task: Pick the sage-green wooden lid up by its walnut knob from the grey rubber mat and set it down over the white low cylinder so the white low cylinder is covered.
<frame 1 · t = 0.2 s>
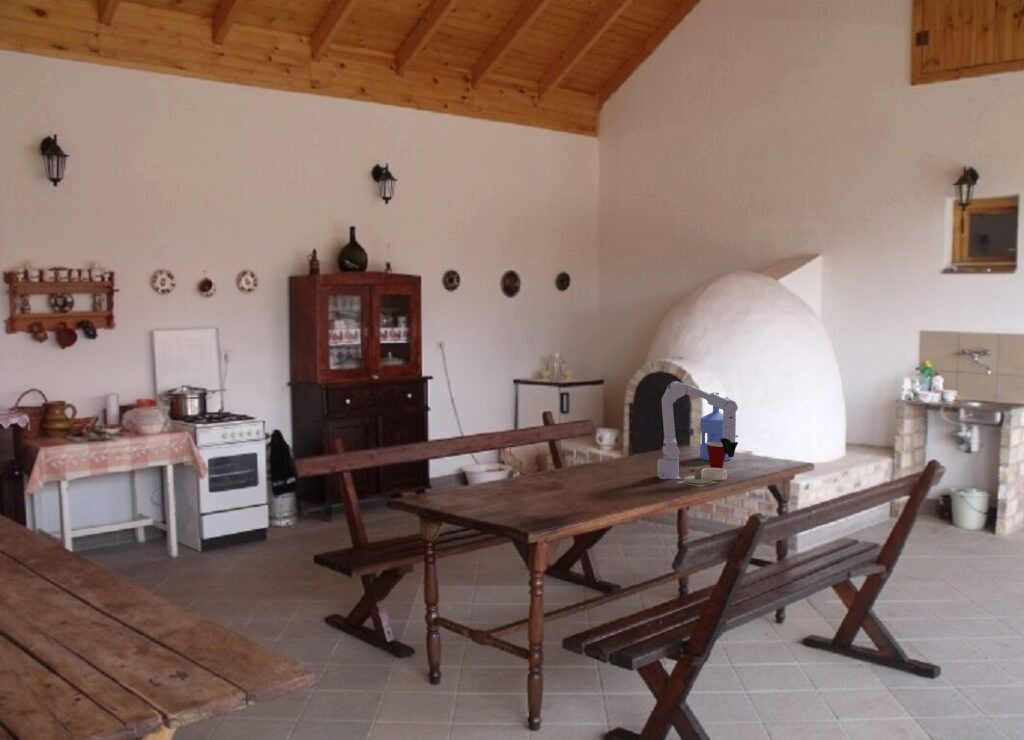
hand: (728, 455, 422), 10 cm above the table, tool pointing down, fingers open, 7 cm apart
water jug: (715, 459, 469), on the table
lid: (697, 482, 410), resting on mat
white low cylinder: (714, 478, 419), on the table
plastic cup: (717, 468, 446), on the table
mat: (697, 483, 410), on the table
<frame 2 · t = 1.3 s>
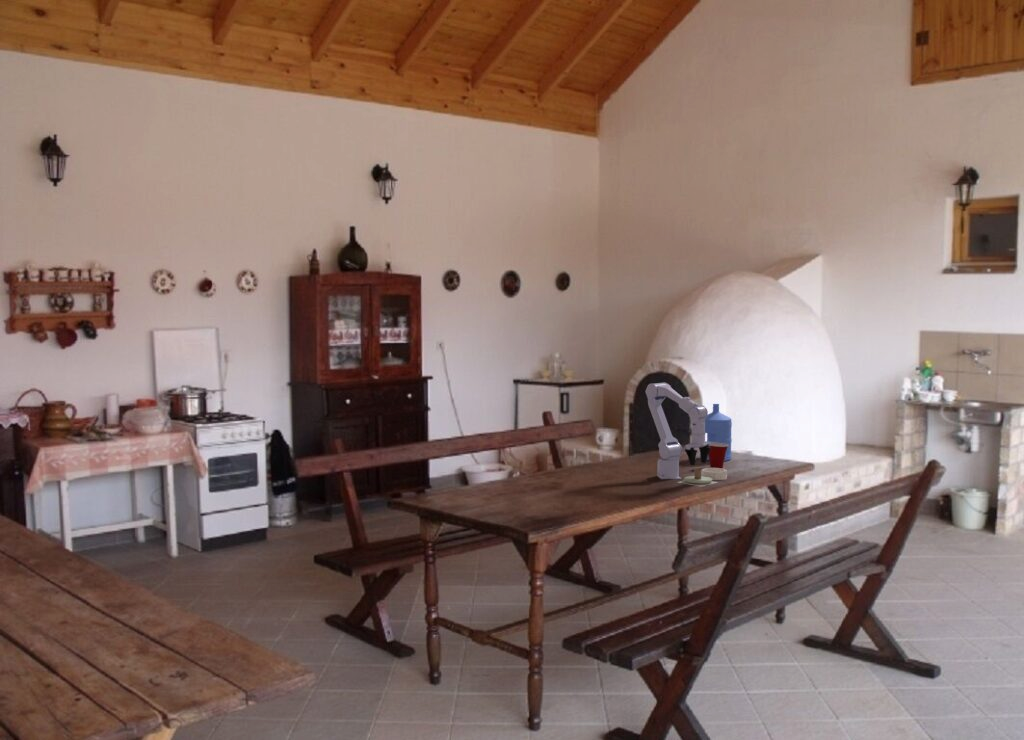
hand: (698, 463, 409), 9 cm above the table, tool pointing down, fingers open, 7 cm apart
nothing on the table moved.
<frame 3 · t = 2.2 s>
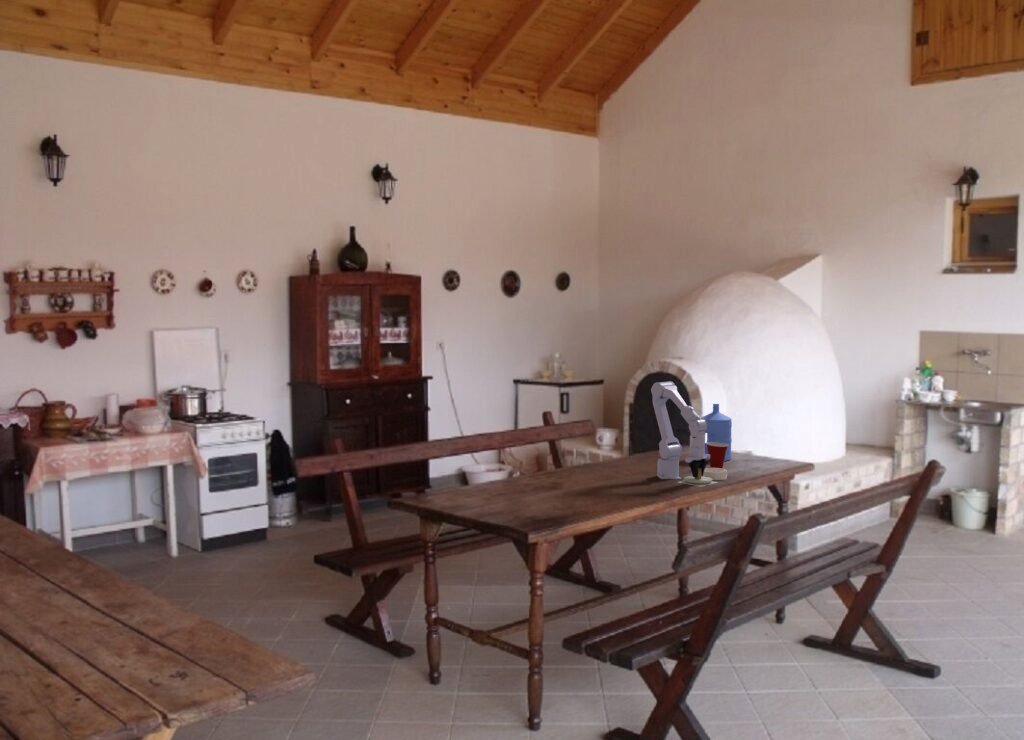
hand: (697, 476, 410), 3 cm above the table, tool pointing down, fingers closed on lid, 3 cm apart
lid: (697, 482, 410), point 1 cm above the table, touching gripper, mat
everything else where it was.
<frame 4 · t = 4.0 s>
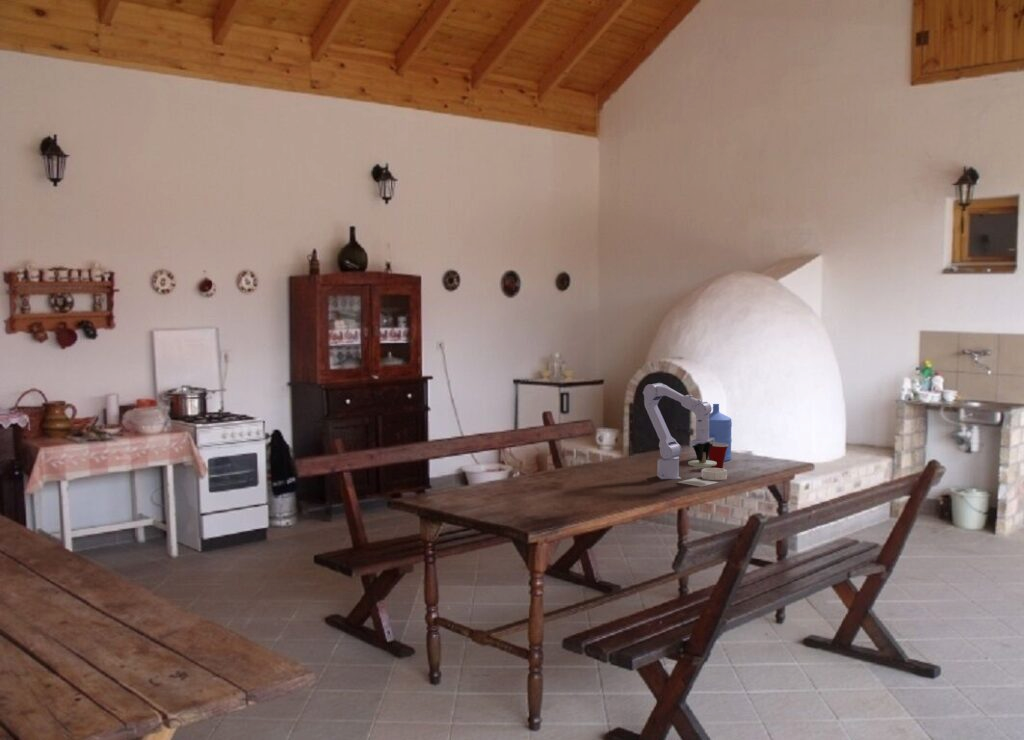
hand: (702, 459, 411), 10 cm above the table, tool pointing down, fingers closed on lid, 3 cm apart
lid: (702, 465, 412), point 7 cm above the table, touching gripper
everything else where it was.
when the fingers open (7 cm above the table, at t = 5.6 s): lid stays where it is, resting on white low cylinder.
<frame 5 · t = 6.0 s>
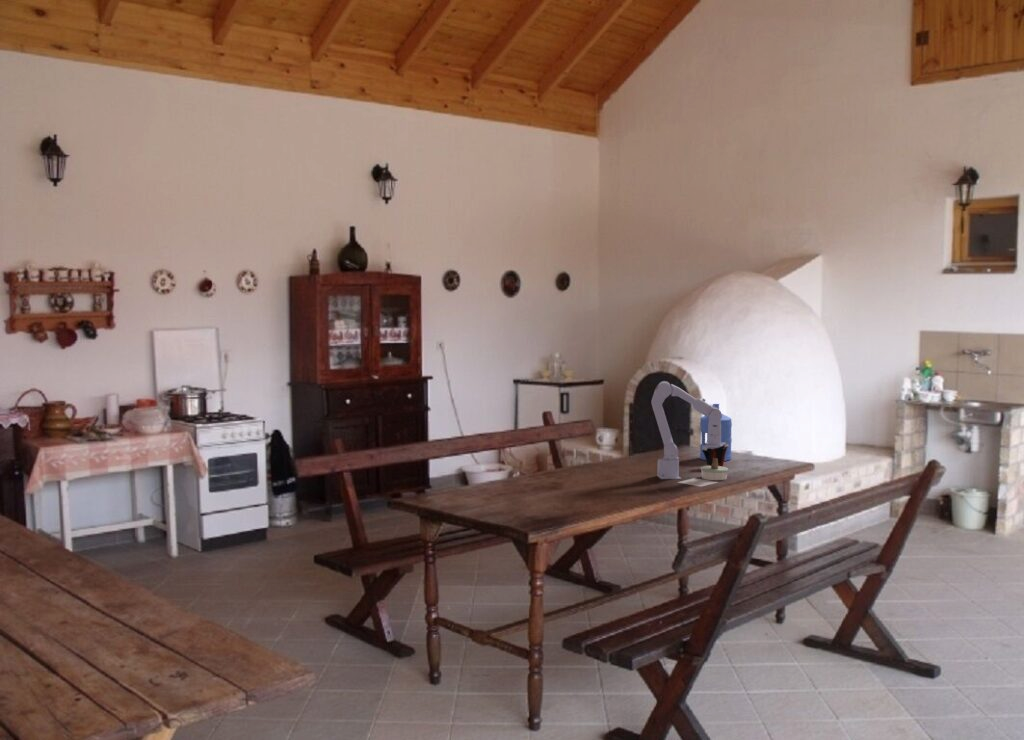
hand: (714, 464, 419), 7 cm above the table, tool pointing down, fingers open, 6 cm apart
lid: (714, 471, 419), point 3 cm above the table, touching white low cylinder
everything else where it was.
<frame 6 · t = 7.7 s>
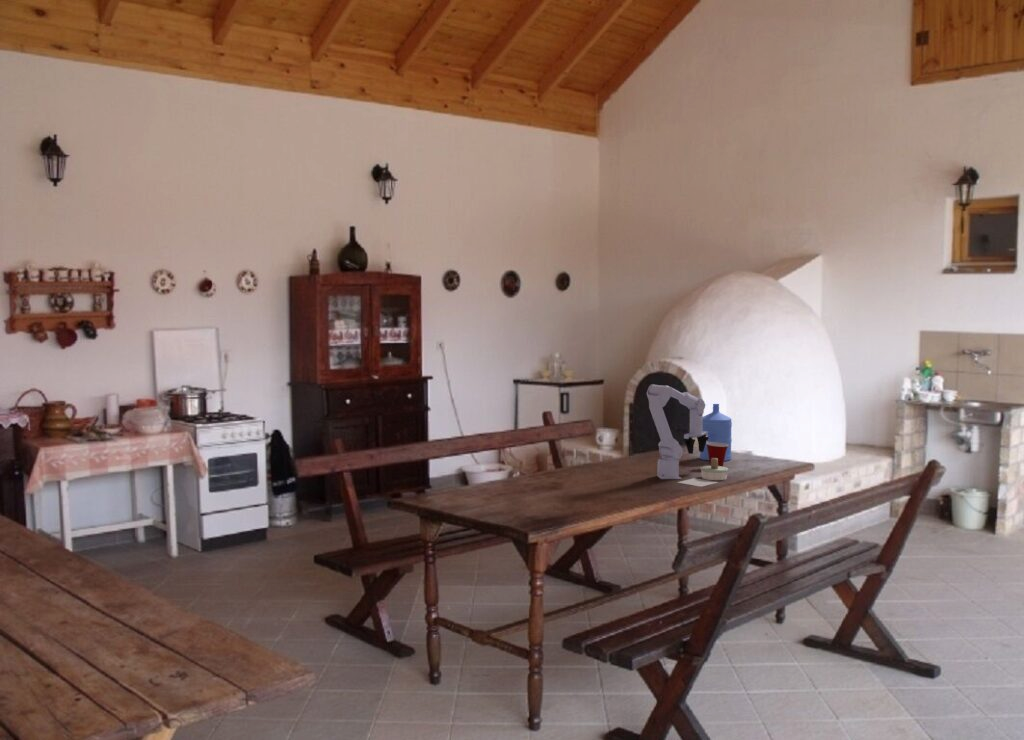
hand: (695, 452, 431), 10 cm above the table, tool pointing down, fingers open, 7 cm apart
nothing on the table moved.
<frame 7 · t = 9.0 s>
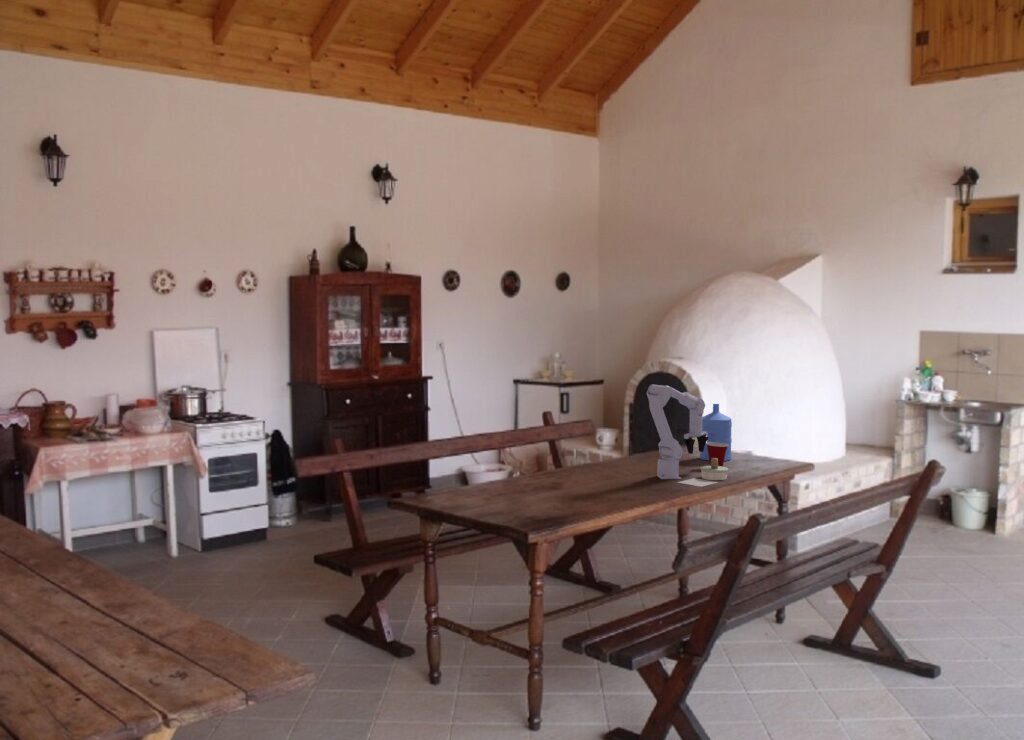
hand: (695, 452, 431), 10 cm above the table, tool pointing down, fingers open, 7 cm apart
nothing on the table moved.
at the end: lid 0.1 cm off-centre on the white low cylinder, point 3.2 cm above the white low cylinder's base; lid tilted 0°; the gripper is holding nothing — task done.
